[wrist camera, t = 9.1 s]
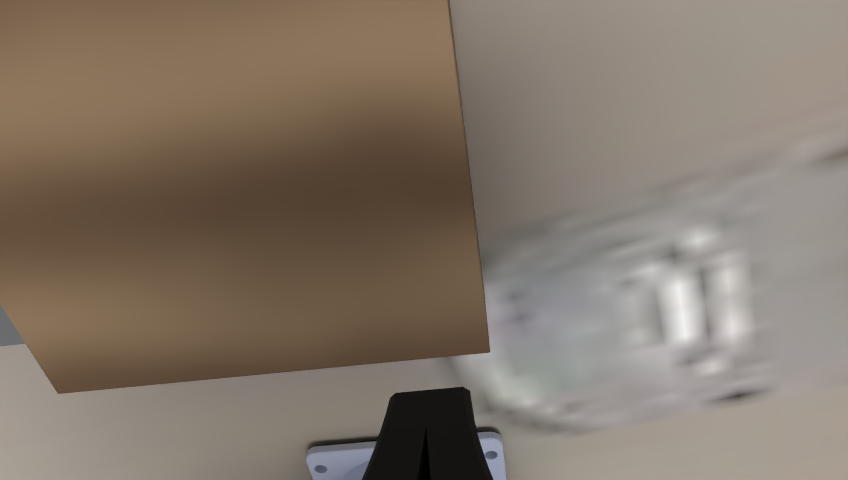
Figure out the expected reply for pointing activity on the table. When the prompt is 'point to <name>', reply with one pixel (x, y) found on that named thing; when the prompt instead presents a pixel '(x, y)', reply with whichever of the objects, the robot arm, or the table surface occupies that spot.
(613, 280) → the table surface
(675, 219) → the table surface
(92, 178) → the deck
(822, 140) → the table surface
